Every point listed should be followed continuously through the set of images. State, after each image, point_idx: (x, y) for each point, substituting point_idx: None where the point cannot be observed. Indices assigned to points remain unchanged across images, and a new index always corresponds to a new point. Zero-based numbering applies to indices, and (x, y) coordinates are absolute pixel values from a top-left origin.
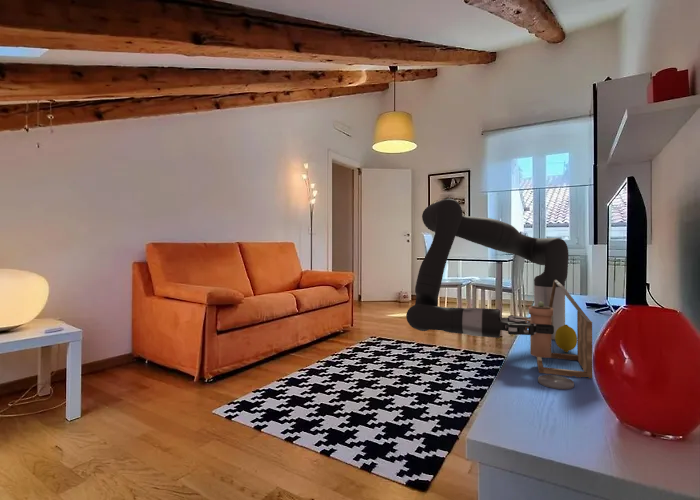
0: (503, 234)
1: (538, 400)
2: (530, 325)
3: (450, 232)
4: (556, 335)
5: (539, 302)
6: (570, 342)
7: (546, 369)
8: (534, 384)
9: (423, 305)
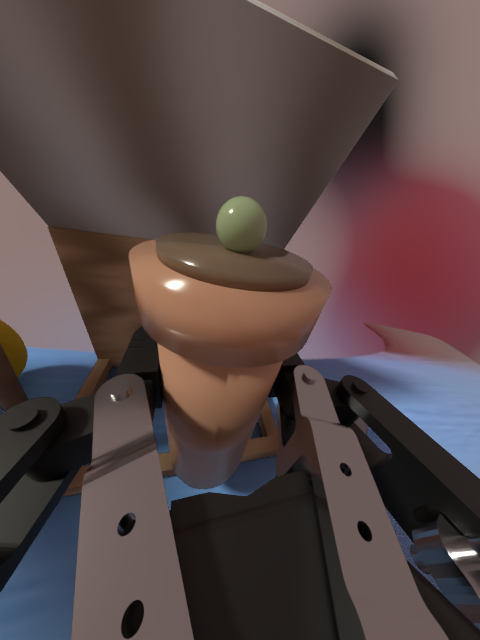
0: None
1: (441, 434)
2: (375, 392)
3: None
4: None
5: (260, 209)
6: (23, 351)
7: (275, 427)
8: None
9: None
